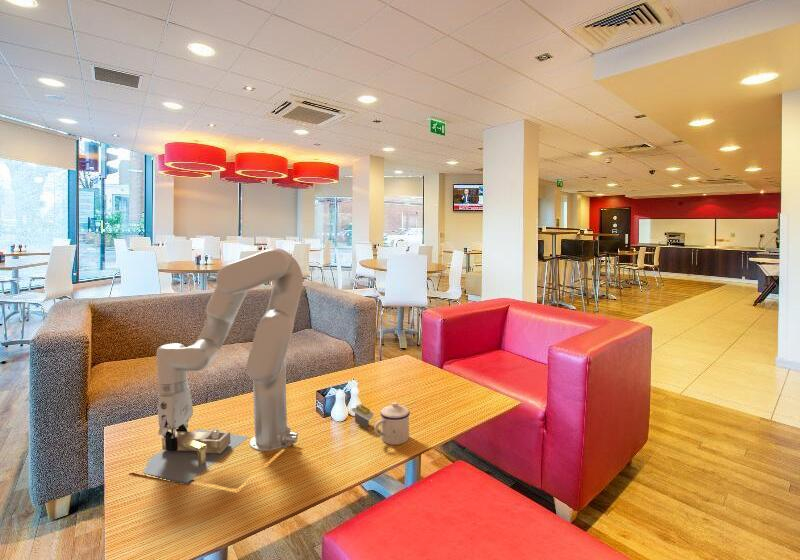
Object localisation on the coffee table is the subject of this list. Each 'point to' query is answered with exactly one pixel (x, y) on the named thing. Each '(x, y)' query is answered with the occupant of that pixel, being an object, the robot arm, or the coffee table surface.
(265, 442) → the robot arm
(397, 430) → the teacup with lid
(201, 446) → the keeper
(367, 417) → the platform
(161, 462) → the board
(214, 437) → the pintle
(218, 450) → the link
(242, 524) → the coffee table surface
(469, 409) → the coffee table surface
